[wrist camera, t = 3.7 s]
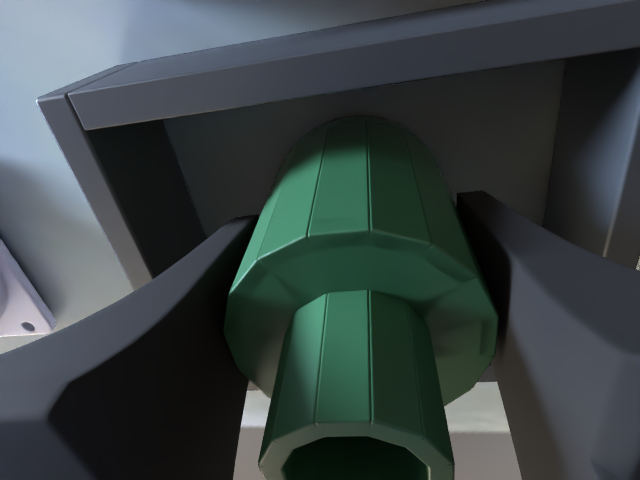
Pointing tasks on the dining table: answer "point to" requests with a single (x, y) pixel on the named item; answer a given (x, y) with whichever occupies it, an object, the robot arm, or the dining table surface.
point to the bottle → (360, 309)
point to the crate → (353, 74)
